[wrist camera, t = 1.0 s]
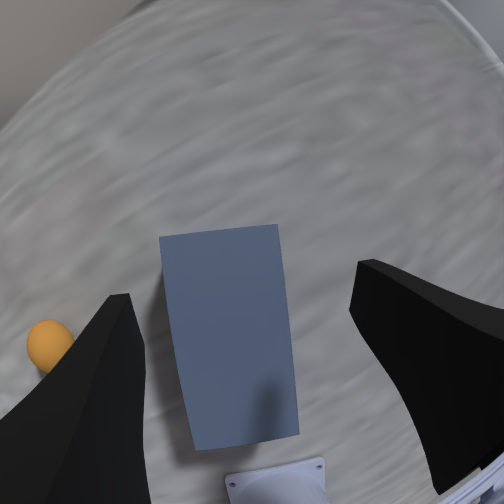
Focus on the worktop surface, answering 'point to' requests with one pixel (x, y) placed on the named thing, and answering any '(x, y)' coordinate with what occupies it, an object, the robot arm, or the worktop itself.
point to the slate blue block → (231, 335)
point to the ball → (48, 344)
